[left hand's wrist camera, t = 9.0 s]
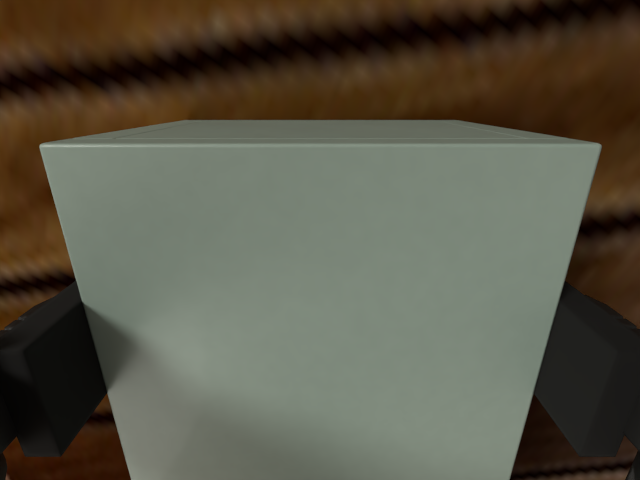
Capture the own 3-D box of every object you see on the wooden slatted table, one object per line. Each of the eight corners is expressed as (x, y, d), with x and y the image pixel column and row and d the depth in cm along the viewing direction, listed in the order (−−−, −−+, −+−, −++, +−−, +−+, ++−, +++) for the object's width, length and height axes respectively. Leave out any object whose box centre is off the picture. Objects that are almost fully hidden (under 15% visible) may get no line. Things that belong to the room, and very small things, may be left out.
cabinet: (417, 419, 20) (474, 610, 13) (223, 419, 20) (165, 608, 13) (456, 119, 14) (604, 143, 7) (184, 120, 15) (36, 143, 7)
